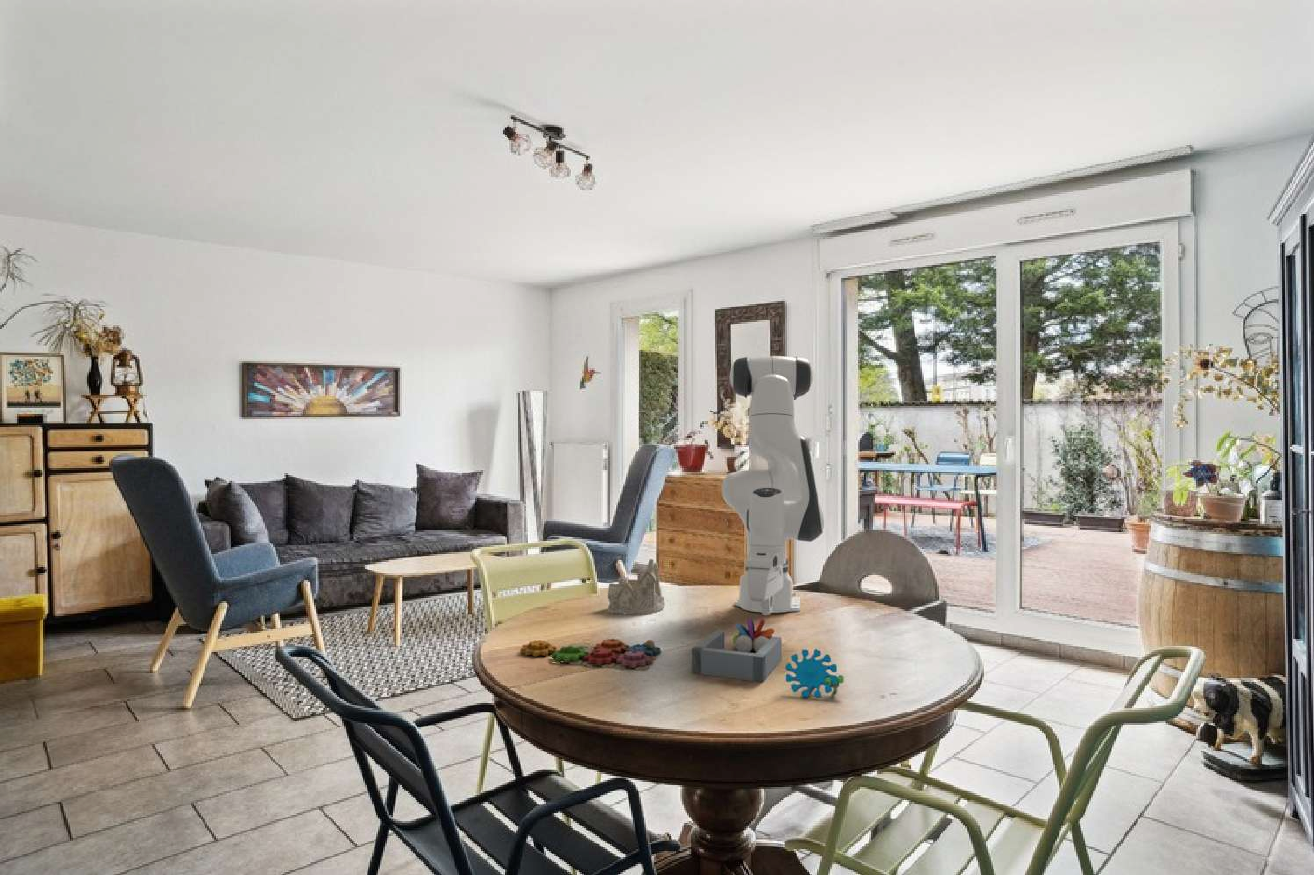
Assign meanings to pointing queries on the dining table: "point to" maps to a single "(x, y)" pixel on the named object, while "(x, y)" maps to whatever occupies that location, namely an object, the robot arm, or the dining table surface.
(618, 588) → the ceramic cottage
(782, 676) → the dining table surface
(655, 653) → the gear puzzle
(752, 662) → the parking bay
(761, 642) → the multicoloured rounded-lobe toy
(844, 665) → the dining table surface
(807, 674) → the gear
